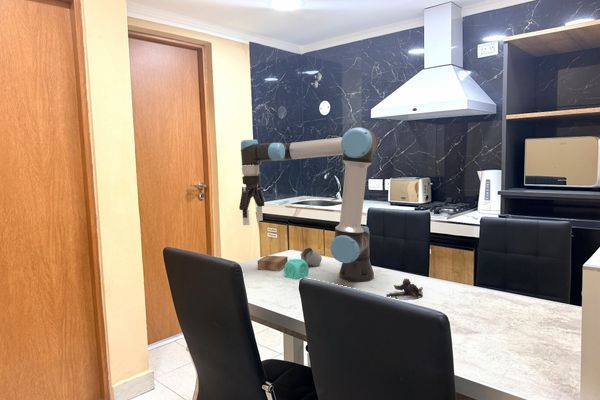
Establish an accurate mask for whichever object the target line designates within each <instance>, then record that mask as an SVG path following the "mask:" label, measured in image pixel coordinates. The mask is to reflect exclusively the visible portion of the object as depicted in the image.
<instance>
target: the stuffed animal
mask: <svg viewBox="0 0 600 400" xmlns="http://www.w3.org/2000/svg"><path fill="white" fill-rule="evenodd" d="M410 280H411V279H409V278H403V281H402V284H400V285H396V284H394V285H393V287H394V289H395V290H396V291H397V292H389V293H386V294H385V296H386V297H387V298H388V297H389V298H391V299H392V298H395V299H394V300H396V299H399V300H398V301H404V300H414V299H415V300H416V299H419V298H422V297H423V296H424V295H423V293H424V292H423V288H424V287H422V286H420V287H418V286H417V285H416V284H414V283H412V282H411V281H410ZM390 296H391V297H390Z"/></svg>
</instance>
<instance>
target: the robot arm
mask: <svg viewBox="0 0 600 400" xmlns="http://www.w3.org/2000/svg"><path fill="white" fill-rule="evenodd" d="M378 139H379V138H378V136H377V134H376V133H375V132H373V131H372V130H370V129H368V128H365V127H353V128H350V129H348V130H347V131H346V132H345V133H344V134H343V136H342V137H341V136H339V137H334V138H333V137H331V138H324V139H315V140H306V141H298V142H287V143H282V142H268V143H259V142H258V141H259V140H258V139H242V140H241V142H240V157H241V172H242V173H241V174H242V179H241V180H242V184H243V185H244V186H242V187H241V197H240V203H239V211H242V212H241V213H242V225H243V226H250V225H251V223H250V209H249V206H250V203H251V201H252V200H251V199H252V198H253V200H254V203H255V205H256V208H255V213H256V221H257V222H259V221H260V222H261V221H263V220H264V219H263V217H264V216H263V207H265V201H264V197H263V193H262V187H261V184H260V182H261V181H260V180H261V178H260V163H259V162H269V161H271V162H272V161H273V162H277V161H291V160H298V159H299V160H301V159H312V158H322V157H331V156H332V157H333V156H342V159H341V160H342V161H341V162H343V163H344V164H345V165H344V166H345V168H344V170H345V171H344V178H343V190H342V197H341V198H342V199H341V205H340V206H341V207H340V216H339V224H338V225H336V226H335V230H334V237H333V239H332V241H331V242H330V247H329V249H330V253H331V256H332V257H333V258H334V259H335V260H336V261H338V262H339V263H341V265H340V269H339V274H338V275H339V279H340V280H342V281H345V282H350V283H351V282H353V283H356V282H357V283H359V282H360V283H362V282H363V283H364V282H369V281H371V280H373V279H374V278H375V275H374V274H375V273H374V270H373V267H372V264H371V260H370V235H371V234H370V228H369V227H368V226H365V225H364V226H363V225H362V217H363V216H362V215H363V208H364V201H365V191H366V183H367V174H368V167H370V166H371V165H372V162H373V157H374V156H373V155H374V154H375V153H376V151H377V149H378V147H379V140H378Z"/></svg>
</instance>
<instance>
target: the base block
mask: <svg viewBox="0 0 600 400" xmlns="http://www.w3.org/2000/svg"><path fill="white" fill-rule="evenodd" d="M287 261H288V256H286V255H285V256H283V255H281V256H280V255H265V256H263V257H261V258H260V259H258V260H257V270H258V271H265V272H266V271H267V272H268V271H270V272H277V273H279V272H281V271H282V270H283V271H284V267H285V264H286V263H287Z"/></svg>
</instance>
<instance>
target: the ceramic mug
mask: <svg viewBox="0 0 600 400" xmlns="http://www.w3.org/2000/svg"><path fill="white" fill-rule="evenodd" d="M299 255H300V259H302V260H305V261H306V263H307V264H308V266H311V267H318V266H319V265H320V264H321V263H322V259H323V258H322V255H321V254H320V253H319V252H317V250H315V249H314V248H313V247H309V246H308V247H306V248H305V249H303V251H301V253H300V254H299Z"/></svg>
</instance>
